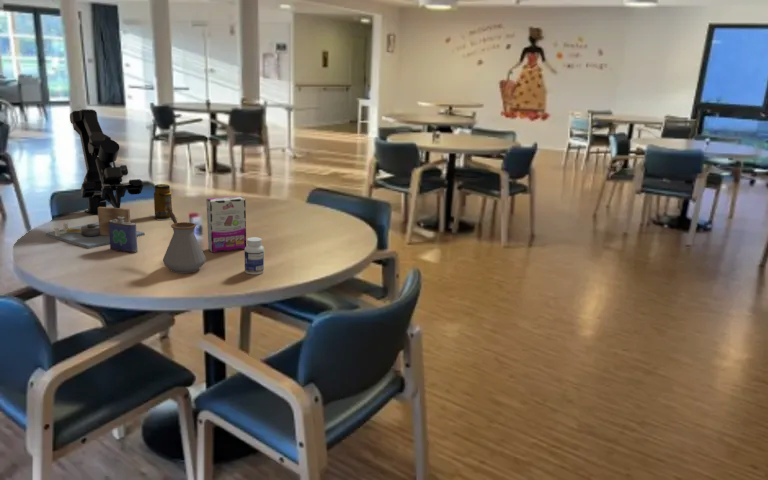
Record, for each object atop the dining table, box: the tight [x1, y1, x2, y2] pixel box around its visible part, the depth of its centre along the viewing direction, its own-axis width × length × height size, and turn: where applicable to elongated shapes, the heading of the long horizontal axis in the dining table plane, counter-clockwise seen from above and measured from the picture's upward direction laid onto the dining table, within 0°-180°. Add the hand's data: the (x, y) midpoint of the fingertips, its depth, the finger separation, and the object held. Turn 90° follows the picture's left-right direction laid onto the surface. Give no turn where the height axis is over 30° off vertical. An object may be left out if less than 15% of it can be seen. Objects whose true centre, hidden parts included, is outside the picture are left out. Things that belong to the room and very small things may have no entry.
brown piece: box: [67, 206, 131, 236], centre depth 186 cm, size 20×6×9 cm, turn 88°
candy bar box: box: [206, 196, 247, 254], centre depth 182 cm, size 11×5×16 cm, turn 122°
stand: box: [45, 221, 145, 249], centre depth 189 cm, size 22×20×3 cm
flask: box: [109, 217, 139, 254], centre depth 175 cm, size 9×3×11 cm, turn 74°
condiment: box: [150, 183, 178, 221], centre depth 215 cm, size 7×8×12 cm
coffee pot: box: [162, 206, 207, 274], centre depth 166 cm, size 21×12×15 cm, turn 34°
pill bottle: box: [244, 236, 265, 275], centre depth 164 cm, size 5×5×10 cm
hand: (118, 209), depth 193 cm, fingers closed
